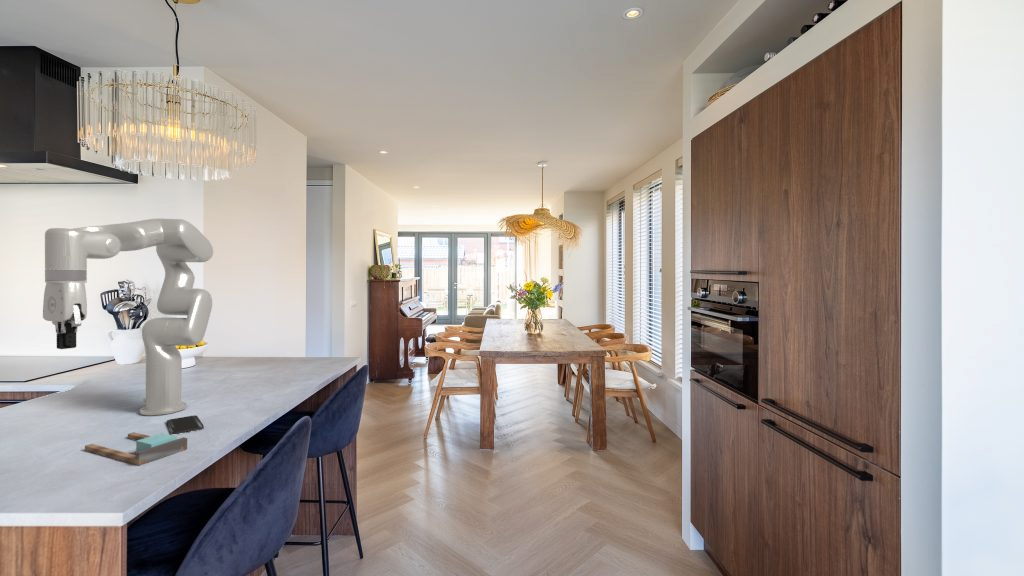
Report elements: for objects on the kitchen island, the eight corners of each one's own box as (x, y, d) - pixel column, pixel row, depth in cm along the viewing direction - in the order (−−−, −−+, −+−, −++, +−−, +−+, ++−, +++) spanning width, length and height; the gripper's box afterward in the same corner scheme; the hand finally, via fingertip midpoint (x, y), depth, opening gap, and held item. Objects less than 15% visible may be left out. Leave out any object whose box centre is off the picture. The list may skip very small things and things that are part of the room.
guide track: (84, 450, 114) (84, 439, 114) (133, 436, 124) (133, 426, 124) (139, 465, 106) (139, 453, 106) (187, 449, 116) (187, 438, 116)
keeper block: (136, 456, 112) (136, 440, 112) (162, 447, 117) (162, 433, 117) (151, 460, 110) (151, 444, 110) (176, 451, 115) (176, 436, 115)
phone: (196, 414, 142) (204, 426, 131) (196, 418, 142) (204, 430, 131) (165, 420, 137) (171, 432, 126) (165, 423, 137) (171, 436, 126)
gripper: (30, 276, 111) (30, 348, 111) (63, 277, 106) (63, 352, 106) (69, 276, 118) (69, 344, 118) (101, 277, 113) (101, 348, 113)
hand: (66, 348), depth 112 cm, fingers closed
